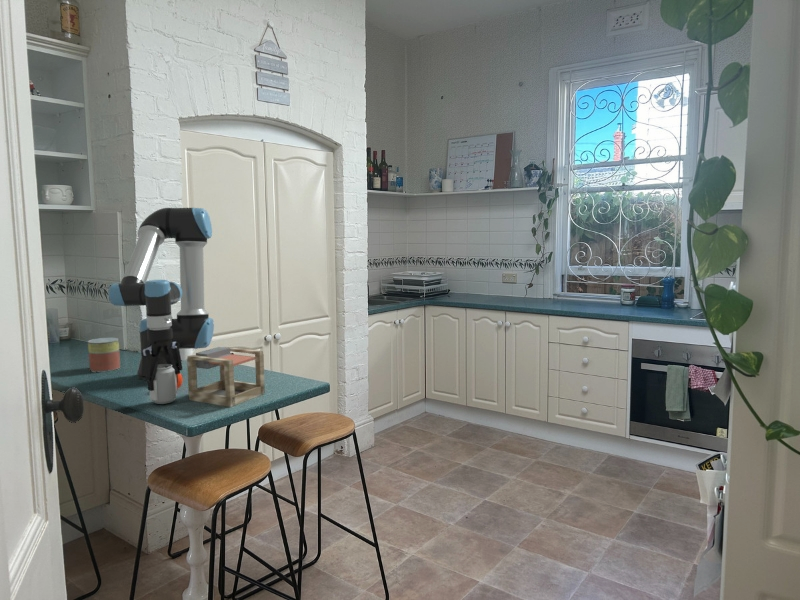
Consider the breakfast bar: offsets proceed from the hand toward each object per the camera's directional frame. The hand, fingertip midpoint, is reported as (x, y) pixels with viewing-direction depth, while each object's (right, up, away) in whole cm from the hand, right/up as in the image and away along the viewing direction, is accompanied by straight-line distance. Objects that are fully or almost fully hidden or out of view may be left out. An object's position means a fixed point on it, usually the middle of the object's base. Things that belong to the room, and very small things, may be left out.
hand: (163, 396), depth 194 cm
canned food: (-42, +3, +46) cm, 63 cm away
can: (0, -2, 0) cm, 2 cm away
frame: (+19, -1, +7) cm, 20 cm away
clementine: (-3, 0, +16) cm, 16 cm away
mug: (-17, +6, +65) cm, 68 cm away
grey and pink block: (+19, +9, +6) cm, 22 cm away
